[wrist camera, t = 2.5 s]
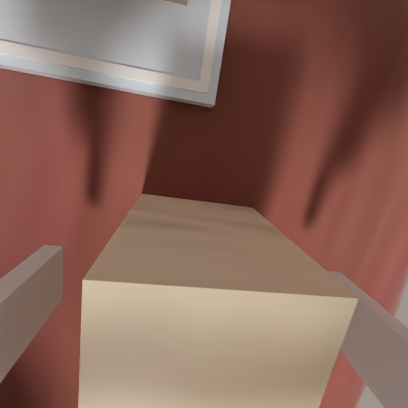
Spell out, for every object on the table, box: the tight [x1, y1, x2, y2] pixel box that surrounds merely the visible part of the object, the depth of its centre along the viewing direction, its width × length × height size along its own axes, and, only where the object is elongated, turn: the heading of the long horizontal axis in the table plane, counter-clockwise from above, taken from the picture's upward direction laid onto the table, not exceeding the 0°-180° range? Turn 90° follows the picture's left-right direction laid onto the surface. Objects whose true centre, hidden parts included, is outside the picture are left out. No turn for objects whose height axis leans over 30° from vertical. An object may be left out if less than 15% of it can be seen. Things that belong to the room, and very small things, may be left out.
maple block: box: [78, 194, 359, 408], centre depth 11 cm, size 7×7×9 cm
